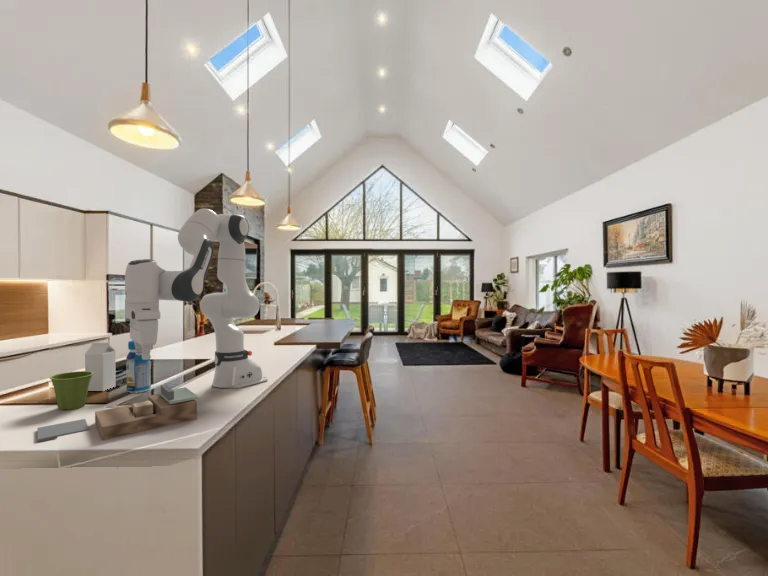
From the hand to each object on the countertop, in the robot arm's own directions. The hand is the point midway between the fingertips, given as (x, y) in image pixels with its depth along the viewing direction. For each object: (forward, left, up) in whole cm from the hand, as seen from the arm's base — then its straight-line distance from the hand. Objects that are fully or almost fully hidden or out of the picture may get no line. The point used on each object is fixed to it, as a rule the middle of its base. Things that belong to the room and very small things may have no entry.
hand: (142, 357), depth 116 cm
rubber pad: (+18, -9, -21) cm, 29 cm away
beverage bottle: (-6, -42, -21) cm, 47 cm away
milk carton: (+5, -54, -21) cm, 58 cm away
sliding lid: (-10, 0, -14) cm, 17 cm away
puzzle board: (-1, 0, -21) cm, 21 cm away
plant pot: (+15, -34, -21) cm, 43 cm away
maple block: (0, 0, -20) cm, 20 cm away
